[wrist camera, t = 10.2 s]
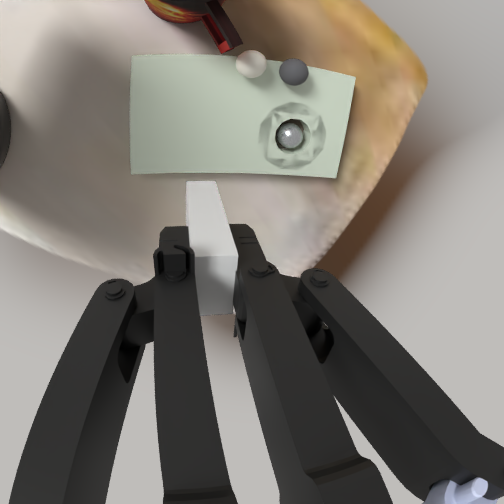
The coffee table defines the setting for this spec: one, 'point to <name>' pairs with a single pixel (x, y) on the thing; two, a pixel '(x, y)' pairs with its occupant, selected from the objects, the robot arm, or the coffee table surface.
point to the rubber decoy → (293, 72)
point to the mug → (200, 18)
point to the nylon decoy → (251, 64)
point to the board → (232, 117)
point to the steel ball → (289, 135)
